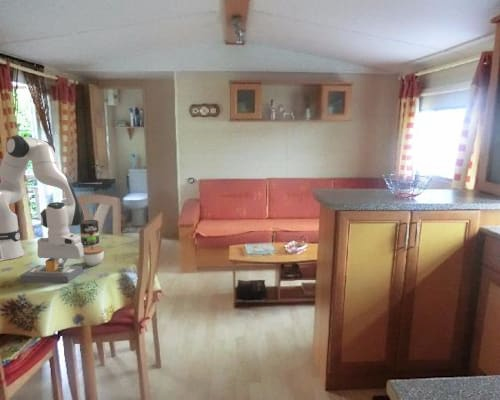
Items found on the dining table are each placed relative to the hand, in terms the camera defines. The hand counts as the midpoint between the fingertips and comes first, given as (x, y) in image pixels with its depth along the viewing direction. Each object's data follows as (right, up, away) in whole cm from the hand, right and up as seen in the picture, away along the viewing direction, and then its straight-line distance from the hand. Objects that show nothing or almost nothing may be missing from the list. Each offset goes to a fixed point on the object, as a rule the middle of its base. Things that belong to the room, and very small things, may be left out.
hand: (61, 266), depth 170 cm
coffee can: (-9, +4, +50) cm, 51 cm away
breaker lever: (-5, -2, 0) cm, 5 cm away
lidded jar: (+7, -2, +18) cm, 20 cm away
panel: (-5, -5, +1) cm, 7 cm away
